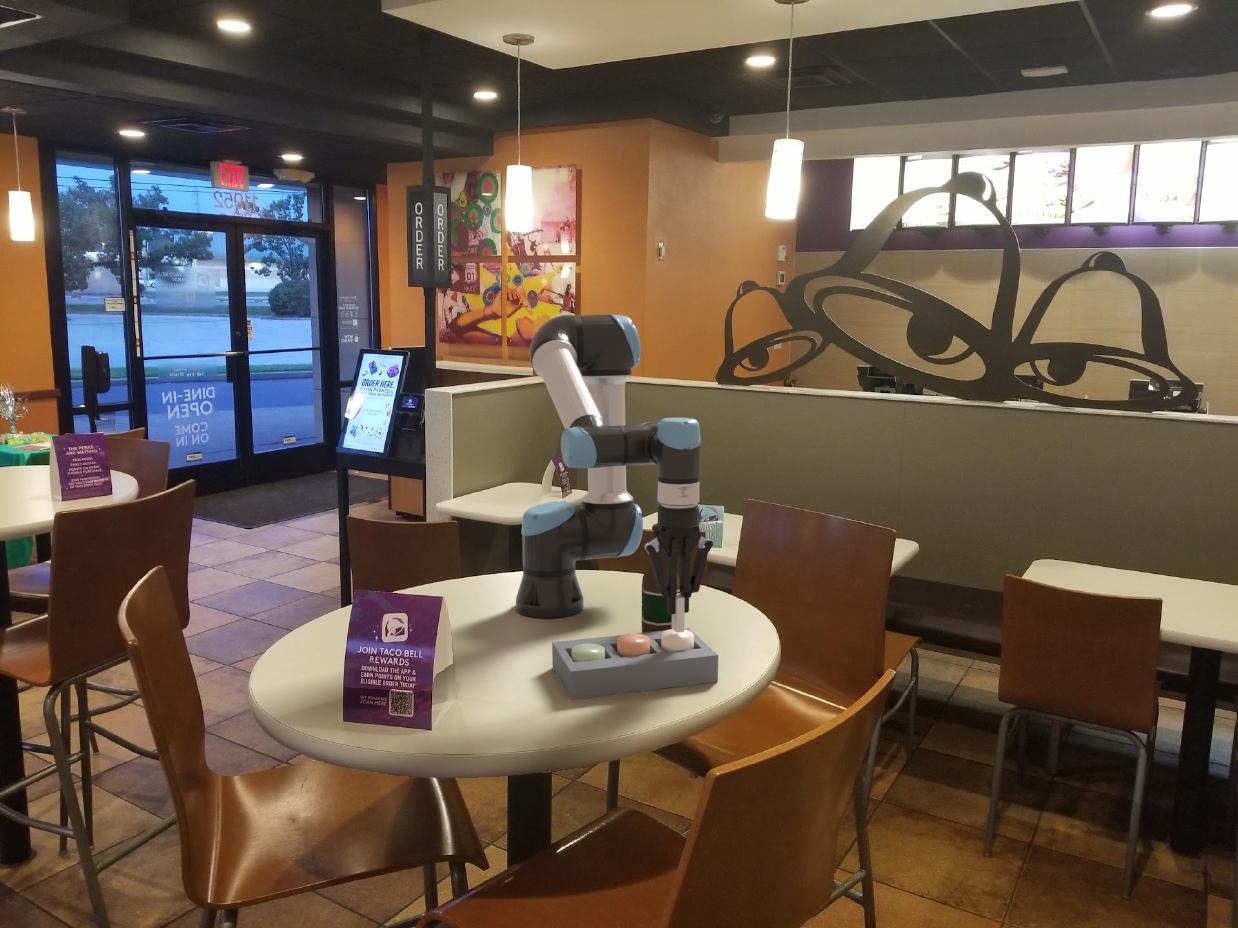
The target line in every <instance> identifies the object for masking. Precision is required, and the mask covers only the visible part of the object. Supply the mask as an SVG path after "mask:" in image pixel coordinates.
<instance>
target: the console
mask: <svg viewBox="0 0 1238 928" xmlns="http://www.w3.org/2000/svg"><path fill="white" fill-rule="evenodd" d="M684 630H688V631H691V632H692V633H693V634H694V649H691V650H682V651H673V652H665V651H664V650H663V649H662V648H661V633H662V632H664V631H656V632H646V633H642V632H639V633H636V634H643V635H646V636H648V637H649V638H650V654H646V655H636V656H627V657H620V656H619V655H618V654H617V638H618V637H619V636H621V635H622V634H619V635H607V636H599V637H590V638H588V637H587V638H581V639H579V638H577V639H570V640H560V641H553V642H551V647H552V649H551V653H552V654H551V655H552V656H551V658H552V662H551V664H552V669H553V671H554V673H555V674H556V676H557V678H558V680H559V679H560V680H559V681H560V683H561V685H562V686H563V688H564V690H565V691H566V694H567V695H568V696H569V698H570V699H571V700H575V699H576V700H577V699H578V700H579V699H585V698H587V699H588V698H592V697H594V696H595V697H600V696H601V697H602V696H603V697H604V696H612V695H618V694H619V693H620V694H626V692H628V693H635V692H642V690H645V691H650V690H659V689H660V690H661V689H667V688H676V687H684V686H685V687H686V686H693V685H702V684H710V683H717V682H719V654H718V653H717V652H716V651H714V650H713V649H712V648H711V647H710V646H709V645H708V644H707V643H706V642H705V641H704V640H702V639H701V637H699V636H698V635H697V634H696V633H695V632H694V631H693V630H691V629H690V628H689V627H687V628H685V627H684ZM665 631H666V630H665ZM580 644H598V645H601V646H603V647H604V648H605V659H600V660H591V661H582V662H573V660H572V648H573V647H574V646H576V645H580ZM620 694H619V695H620Z"/></svg>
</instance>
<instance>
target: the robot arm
mask: <svg viewBox="0 0 1238 928" xmlns="http://www.w3.org/2000/svg"><path fill="white" fill-rule="evenodd" d="M529 345H530V346H529V360H530V364H531V366H532V368H533V371H534V373H535V374H536V375H537V376H538V377H539V378H541V379H542V380H543V382H544V384H545V386H546V388H547V392H548V394H549V395H550V398H551V400H552V403H553V405H554V407H555V409H556V412H557V414H558V416H559V418H560V420H561V423H562V426H563V428H564V430H563V431H562V433H561V436H560V437H561V438H560V452H561V456H562V457H561V458H562V460H563V463H564V465H565V466H566V467H567V468H571V469H584V470H586V469H587V489H588V490H587V492H586V493H585V494H584V496H583V497H582V498H581V507H576V506H575V504H574V503H572V502H571V501H567V500H566V501H551V502H549V501H548V502H544V503H540V504H537V505H533V506H531V507H530V508H528V509H527V510H526V511H524V513H523V514H522V522H521V536H522V538H521V540H522V542H521V543H522V544H521V545H522V577H521V581H520V583H519V587H518V591H517V594H516V598H515V610H516V612H517V613H518V614H521V615H523V616H525V617H532V618H537V619H538V618H541V619H554V618H555V619H556V618H565V617H569V616H573V615H576V614H578V613H580V612H581V611H583V609H584V602H585V601H584V595H583V592H582V589H581V587H580V583H579V581H578V577H577V574H576V562H577V561H584V560H586V561H587V560H594V559H595V560H596V559H606V558H607V559H608V558H614V559H618V558H619V557H627V556H631V555H632V554H634V553H635V552H636V551H637V550H638V548H639V546H640V544H641V541H642V538H643V529H644V517H643V513H642V509H641V507H640V506H639V505H638V504H636V503H634V497H633V496H632V495H631V494H630V492H628V490H627V466H642V465H643V466H645V465H656V466H657V503H659V505H658V506H657V523H658V530H657V532H656V534H655V539H653V538H652V539H651V541H650V542H644V543H643V545H642V546H643V549H644V550H645V552H646V554H647V555H648V557H649V561H650V563H651V567H652V571H653V575H654V579H655V583H656V587H657V591H658V592H660V593H661V594H662V595H666V596H667V611H668V613H670V614H672V629H673V630H674V631H675V632H676V633H679V632H684V629H685V614H686V613H689V611H690V598H691V597H692V594H694V593H699V591H700V588H701V584H702V580H703V576H704V573H705V567H706V563H707V560H708V554H709V552H710V551H711V549H712V548H713V545H714V542H713V541H712V540H710V539H709V538H708V537H704V536H702V532H701V529H700V506H699V505H698V504H699V503H700V469H701V468H700V467H701V466H700V465H701V464H700V461H701V441H702V439H701V433H700V432H701V431H700V430H701V429H700V428H701V427H700V422H699V421H698V420H697V419H695V418H690V417H667V418H662V419H660V420H659V422H658V421H654V422H653V421H648V422H644V423H642V424H633V425H632V424H627V425H626V399H625V398H626V394H625V392H626V390H625V389H626V388H625V385H626V383H627V381H629V380H630V378H631V377H632V369H635V368H637V367H638V366H639V363H640V360H641V359H640V357H641V355H642V354H641V353H642V352H641V341H640V335H639V332H638V329H637V327H636V326H635V324H634V321H632V319H631V318H630V317H628V316H626V315H621V314H609V313H608V314H579V315H578V314H576V315H575V314H573V315H572V314H563V315H558V316H555V317H553V318H551V319H549V320H547V321H546V322H545V323H544V324H542V325H540V327H539V328H538V329H537V331H536V332H535V333H534V335H533V338H532V340H531V343H530V344H529ZM659 544H660V546H661V547H662V548H663V550H664V551H665V556H666V583H665V579H664V575H663V571H662V567H661V562H660V558H659V555H658V553H657V552H658V551H659V548H658V545H659ZM696 546H697V548H696V553H695V556H694V561H693V565H692V570H691V560H692V552H693V550H694V549H695V547H696ZM678 562H679V580H680V583H679V590H680V594H677V574H678ZM650 563H649V564H650Z"/></svg>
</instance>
